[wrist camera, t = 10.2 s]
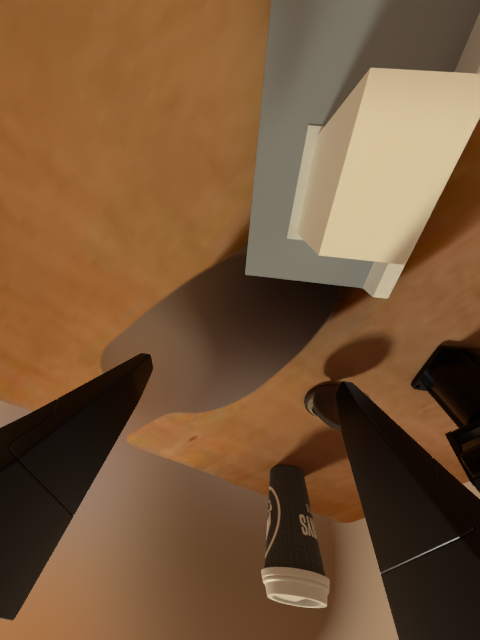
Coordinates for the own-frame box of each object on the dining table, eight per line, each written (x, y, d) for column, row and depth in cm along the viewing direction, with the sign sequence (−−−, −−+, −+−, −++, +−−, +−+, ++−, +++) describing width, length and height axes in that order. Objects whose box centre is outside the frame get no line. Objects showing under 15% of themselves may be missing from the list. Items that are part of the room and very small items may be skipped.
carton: (382, 141, 13) (509, 75, 6) (349, 238, 16) (410, 265, 9) (317, 136, 13) (370, 67, 7) (296, 233, 16) (318, 255, 10)
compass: (301, 411, 30) (311, 466, 24) (308, 373, 26) (321, 426, 20) (357, 415, 29) (382, 473, 23) (373, 376, 25) (408, 433, 19)
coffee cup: (289, 488, 43) (299, 609, 30) (253, 472, 41) (247, 594, 29) (322, 474, 39) (350, 609, 26) (282, 455, 37) (292, 590, 24)
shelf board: (370, 284, 19) (389, 299, 16) (246, 269, 20) (242, 281, 17) (729, -531, 6) (1181, -1246, 3) (321, -494, 7) (366, -1054, 4)
